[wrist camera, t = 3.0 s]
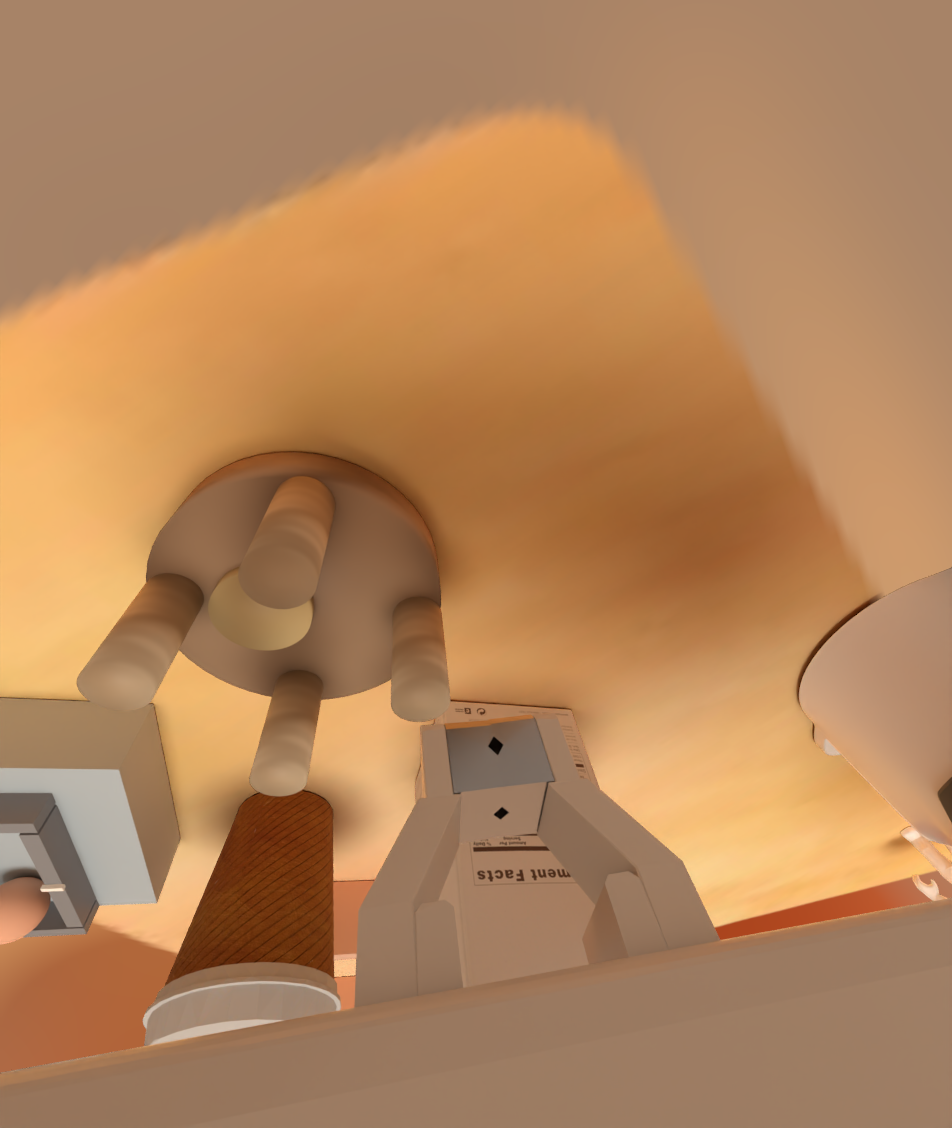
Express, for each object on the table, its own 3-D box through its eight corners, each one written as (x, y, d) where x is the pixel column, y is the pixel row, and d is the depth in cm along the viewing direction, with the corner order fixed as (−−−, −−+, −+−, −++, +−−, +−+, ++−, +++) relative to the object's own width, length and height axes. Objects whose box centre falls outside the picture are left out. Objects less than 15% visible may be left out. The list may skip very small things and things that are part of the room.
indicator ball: (55, 865, 27) (21, 928, 25) (67, 891, 29) (36, 952, 26) (-9, 867, 27) (-50, 931, 24) (7, 893, 28) (-30, 956, 26)
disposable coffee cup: (280, 754, 31) (222, 1002, 21) (384, 810, 36) (377, 1033, 26) (181, 818, 33) (86, 1067, 23) (291, 862, 38) (252, 1084, 28)
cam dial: (461, 473, 21) (485, 571, 15) (419, 671, 28) (424, 796, 22) (149, 426, 19) (26, 521, 13) (183, 657, 25) (111, 795, 19)
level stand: (153, 704, 27) (101, 803, 22) (180, 838, 34) (145, 934, 30) (-117, 692, 24) (-241, 803, 20) (-25, 841, 32) (-99, 947, 27)
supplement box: (532, 788, 36) (599, 1073, 24) (412, 784, 34) (418, 1095, 22) (576, 706, 32) (687, 1008, 19) (440, 695, 29) (468, 1027, 17)
